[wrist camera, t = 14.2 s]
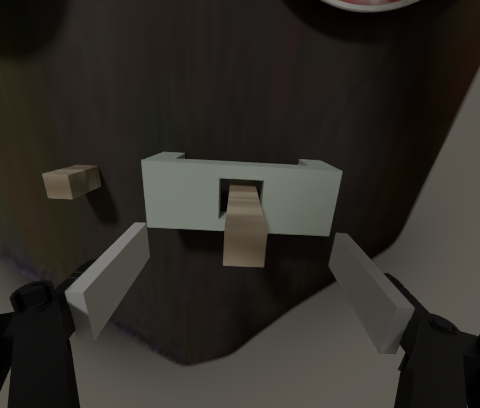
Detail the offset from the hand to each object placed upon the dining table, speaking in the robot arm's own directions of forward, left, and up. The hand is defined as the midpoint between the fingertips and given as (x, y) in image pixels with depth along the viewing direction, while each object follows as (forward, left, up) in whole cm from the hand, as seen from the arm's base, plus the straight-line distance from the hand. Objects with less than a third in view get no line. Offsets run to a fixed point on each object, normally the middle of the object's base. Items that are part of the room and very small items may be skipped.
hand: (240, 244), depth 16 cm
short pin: (0, -22, -18) cm, 29 cm away
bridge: (0, 0, -18) cm, 18 cm away
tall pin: (0, 0, -18) cm, 18 cm away
